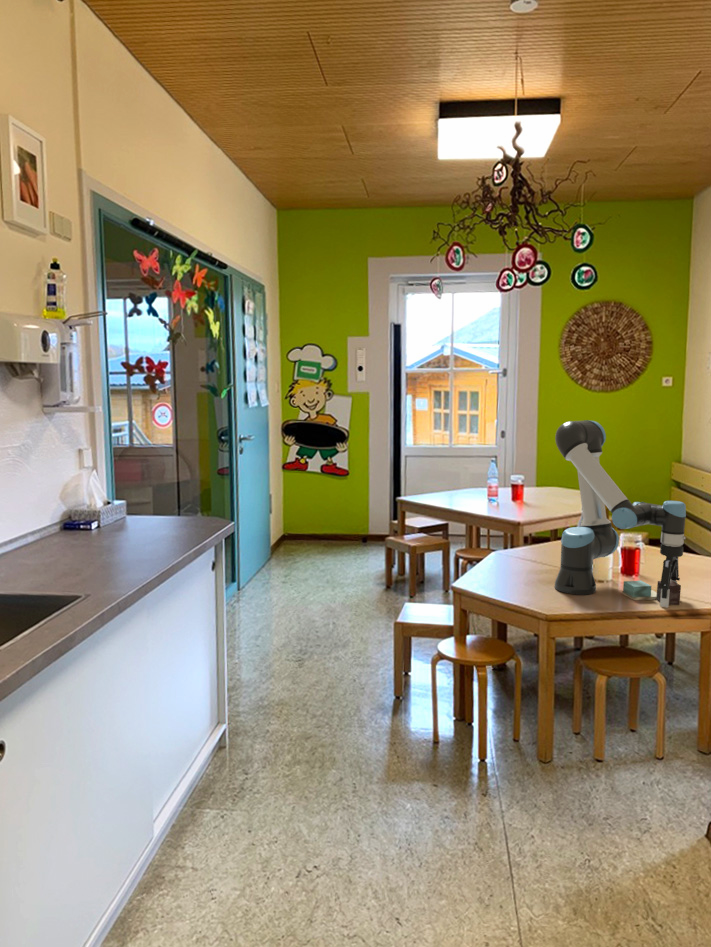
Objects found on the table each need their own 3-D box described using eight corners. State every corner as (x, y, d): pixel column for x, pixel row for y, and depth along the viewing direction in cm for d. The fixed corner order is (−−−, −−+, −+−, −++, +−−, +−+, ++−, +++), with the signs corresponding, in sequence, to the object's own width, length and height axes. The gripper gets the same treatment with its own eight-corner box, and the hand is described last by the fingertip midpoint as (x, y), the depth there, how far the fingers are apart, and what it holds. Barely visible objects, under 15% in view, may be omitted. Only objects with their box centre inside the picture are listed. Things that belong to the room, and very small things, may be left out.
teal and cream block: (633, 600, 260) (634, 587, 260) (622, 593, 268) (622, 580, 267) (663, 598, 262) (664, 585, 262) (651, 592, 270) (652, 579, 269)
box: (672, 600, 261) (673, 580, 260) (680, 605, 255) (681, 585, 254) (655, 600, 261) (657, 580, 260) (663, 605, 255) (664, 585, 254)
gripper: (676, 552, 243) (672, 612, 246) (689, 539, 263) (685, 595, 266) (653, 549, 247) (649, 608, 250) (668, 536, 267) (664, 592, 270)
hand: (668, 602), depth 258 cm, fingers open, 12 cm apart
